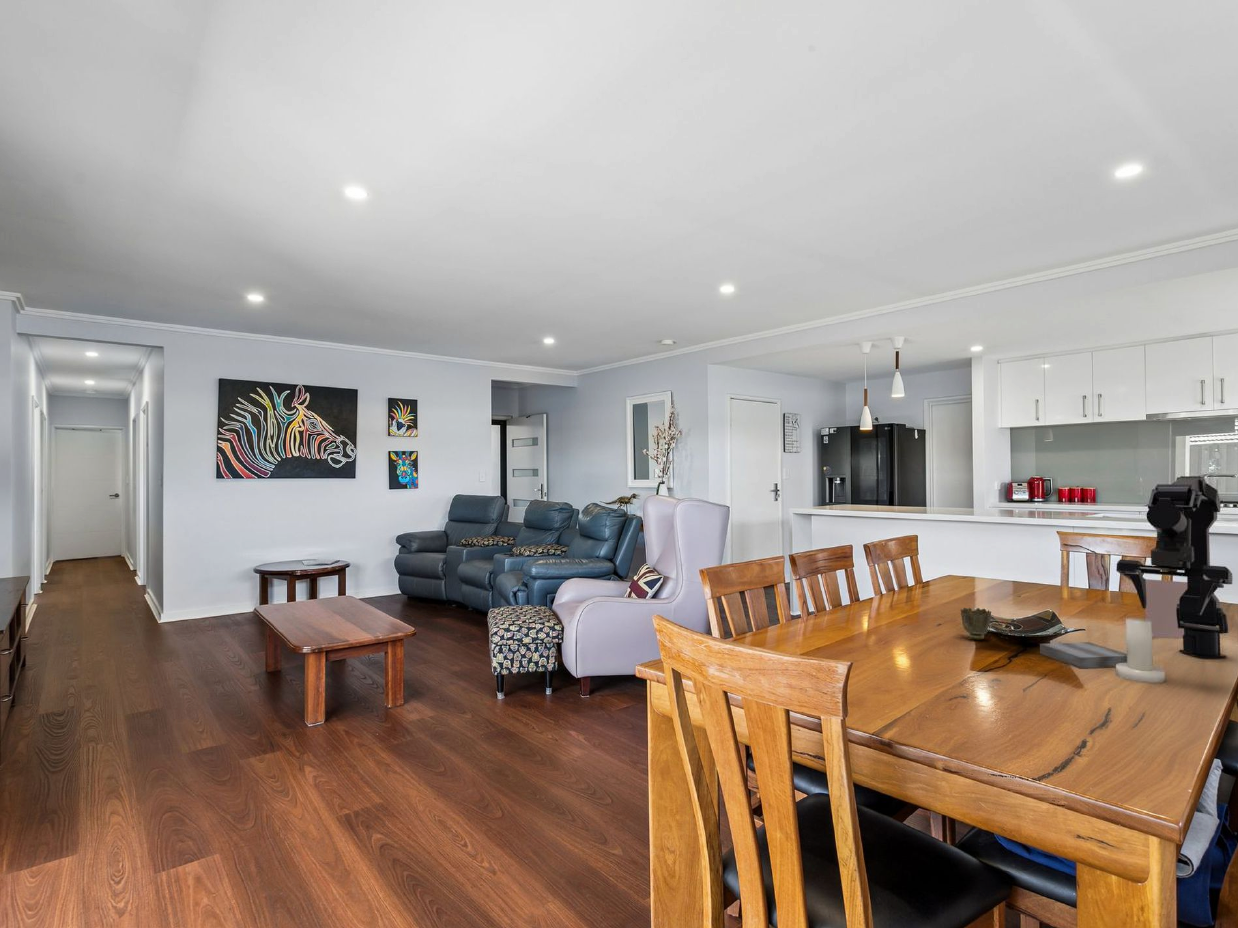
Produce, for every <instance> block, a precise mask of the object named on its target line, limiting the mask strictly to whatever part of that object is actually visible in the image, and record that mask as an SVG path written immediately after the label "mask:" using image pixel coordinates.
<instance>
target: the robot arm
mask: <svg viewBox="0 0 1238 928" xmlns="http://www.w3.org/2000/svg"><path fill="white" fill-rule="evenodd" d="M1147 509H1148V510H1147V512H1146V519H1147V521H1148V523H1149V524H1150V525H1151V526H1152V527H1153V529H1155V531H1156V542H1155V547H1154V548H1152V549H1150V564H1143V563H1142V561H1140V560H1137V559H1136V560H1135V559H1119V560H1118V561H1117V563H1116V570H1115V571H1116V572H1117V573H1118V574H1120V575H1121V576H1123V577H1125V578H1127V580H1130V581H1131V582H1132V584H1133V586H1134V588H1135V591H1136V593H1137V596H1138V599H1139V602H1140V605H1141V607H1142V609H1144V610H1145V609H1146V604H1147V600H1146V579H1147V578H1144V577H1143V576H1144V575H1145V574H1147V575H1159V576H1161V575H1162V576H1173V577H1183V578H1184V577H1185V578H1186V582H1187V590H1186V591H1185V592H1184V593H1183V595H1182V596H1181V597H1180V598H1179V604H1177V607H1176V615H1177V623H1178V628H1179V629H1181V628H1182V629H1184V635H1183V638H1182V649H1178V652H1179V653H1182V654H1186V655H1190V656H1192V657H1197V658H1200V659H1222V658H1223V659H1226V658H1227V655H1226V654H1223V653H1222V654H1221V635H1223V634H1229V623H1228V619H1227V614H1226V613H1224V609H1223V607H1220V599H1219V598H1218V597H1217V595H1216V594H1215V592H1216V591H1217V589H1224V588H1225V585H1233V573H1232V572H1231V570H1230V569H1229V568H1227V566H1222V565H1211V561H1210V559H1211V558H1210V556H1211V555H1210V529H1211V527H1212V526H1213V525H1214V523H1215V522H1216V521H1217V519H1218V513H1221V499H1220V495H1219V491H1218V489H1216V488H1215V487H1213V486H1211V485H1210V484H1209V483H1207V481H1206V478H1205V476H1201V475H1193V476H1192V475H1186V476H1185V475H1184V476H1183V475H1181V476H1178V477H1176V479H1175V481H1174V482H1172V483H1171V484H1170V483H1165V484H1163V483H1160V484H1159V483H1158V484H1156V485H1155V488H1153V489H1152V490H1151V493H1150V497H1149V501H1148V503H1147ZM1186 623H1187V624H1186ZM1194 624H1196V625H1194Z"/></svg>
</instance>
